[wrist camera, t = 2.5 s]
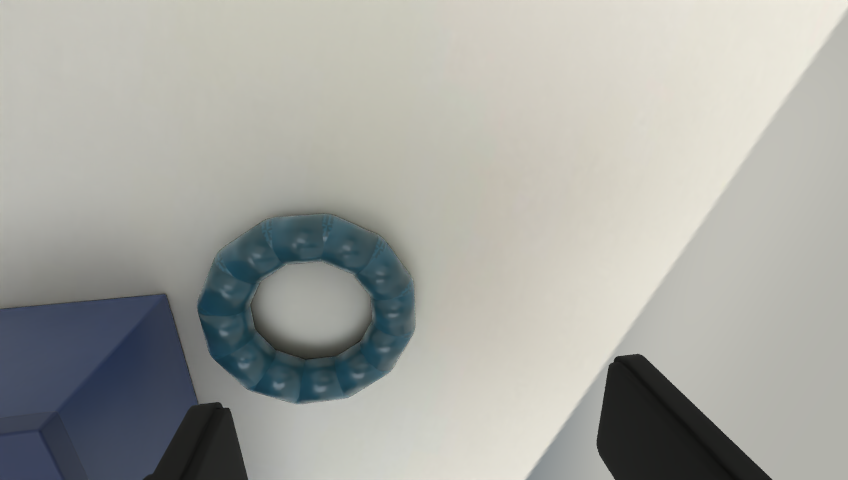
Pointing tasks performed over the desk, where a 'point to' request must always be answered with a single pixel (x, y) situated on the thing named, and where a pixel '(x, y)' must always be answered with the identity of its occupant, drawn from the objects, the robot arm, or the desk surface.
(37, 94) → the desk surface
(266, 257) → the ring
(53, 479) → the box
